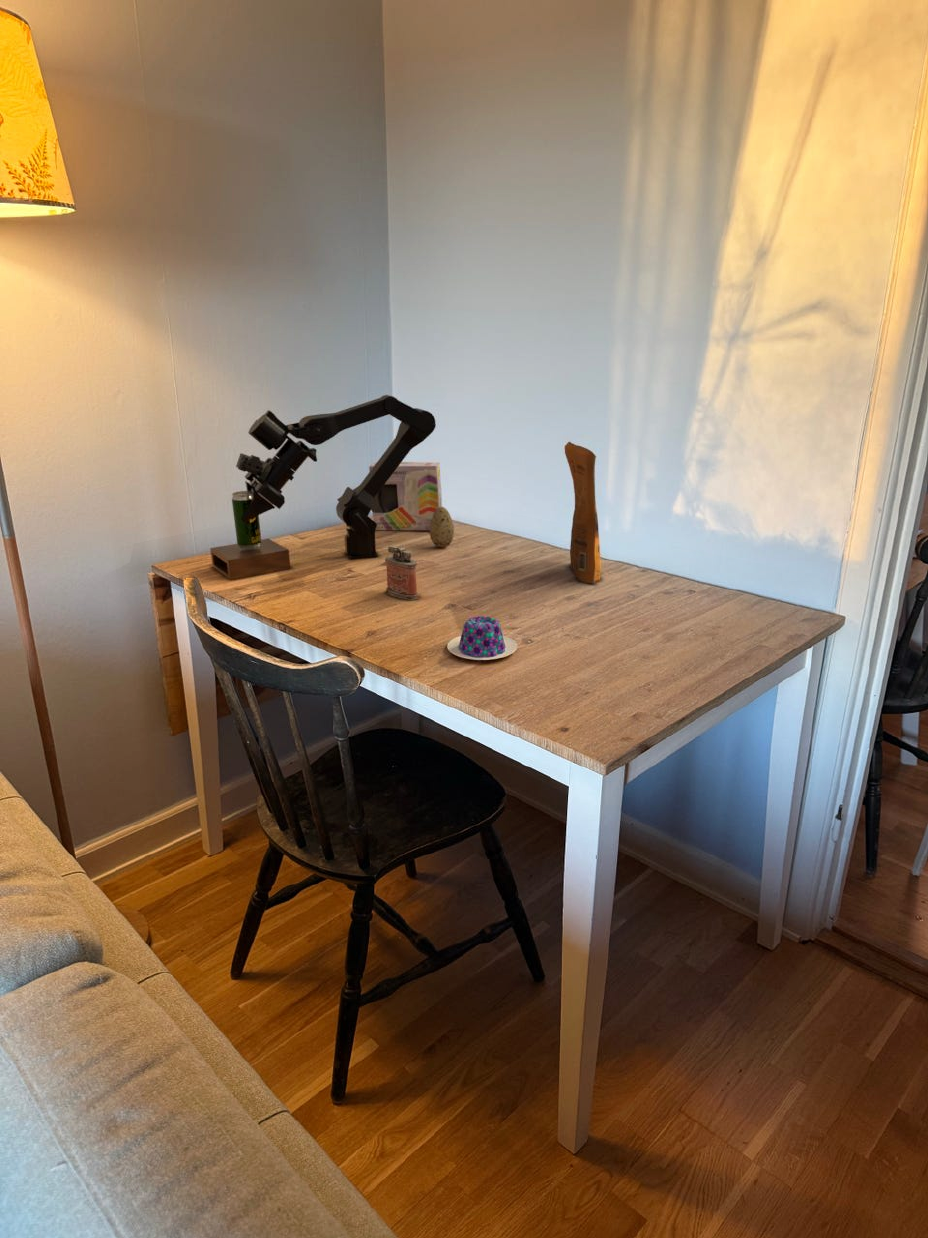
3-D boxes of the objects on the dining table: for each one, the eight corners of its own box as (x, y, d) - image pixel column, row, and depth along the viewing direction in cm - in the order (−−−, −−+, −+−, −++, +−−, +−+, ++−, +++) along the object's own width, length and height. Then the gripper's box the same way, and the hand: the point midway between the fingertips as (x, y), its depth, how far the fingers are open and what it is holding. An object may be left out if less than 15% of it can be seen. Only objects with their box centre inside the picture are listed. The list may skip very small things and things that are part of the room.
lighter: (421, 597, 168) (420, 549, 164) (409, 601, 165) (408, 553, 162) (395, 588, 173) (393, 542, 169) (382, 592, 171) (380, 545, 167)
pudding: (464, 668, 134) (463, 639, 132) (436, 643, 144) (436, 615, 143) (529, 656, 139) (530, 627, 137) (498, 632, 149) (498, 605, 147)
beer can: (233, 548, 184) (226, 495, 180) (244, 541, 189) (238, 490, 185) (255, 549, 183) (248, 496, 179) (266, 542, 188) (260, 490, 184)
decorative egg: (425, 547, 202) (424, 507, 199) (439, 542, 207) (438, 503, 203) (444, 551, 199) (444, 510, 195) (459, 545, 204) (458, 506, 200)
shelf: (270, 556, 196) (268, 538, 195) (290, 568, 187) (288, 549, 185) (212, 567, 189) (210, 548, 187) (230, 580, 180) (228, 560, 178)
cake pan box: (369, 530, 219) (365, 463, 213) (374, 525, 223) (370, 460, 217) (440, 532, 216) (438, 465, 210) (443, 528, 220) (442, 461, 214)
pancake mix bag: (574, 587, 173) (579, 452, 163) (559, 561, 191) (563, 438, 181) (606, 586, 173) (613, 451, 163) (588, 560, 191) (594, 437, 181)
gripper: (249, 434, 187) (205, 487, 188) (263, 445, 171) (215, 503, 171) (287, 465, 193) (245, 517, 193) (304, 479, 177) (258, 536, 177)
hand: (240, 517), depth 183 cm, fingers closed on beer can, 5 cm apart
